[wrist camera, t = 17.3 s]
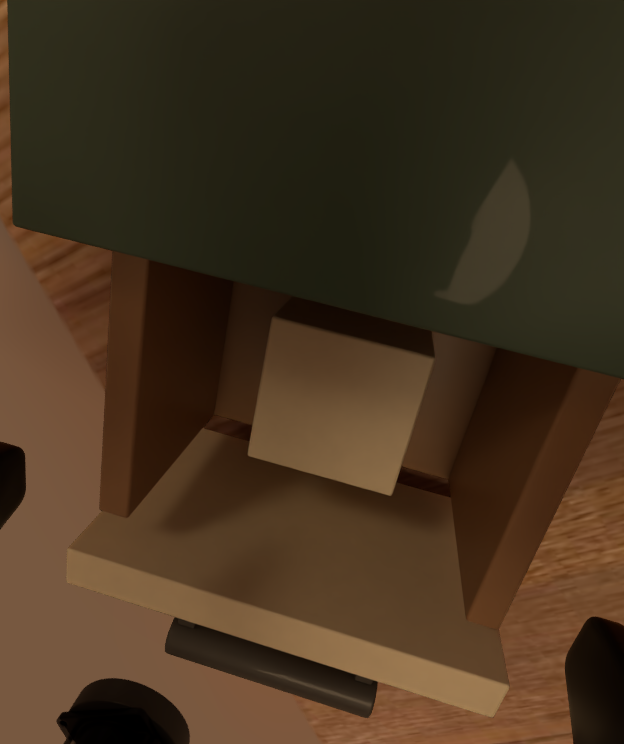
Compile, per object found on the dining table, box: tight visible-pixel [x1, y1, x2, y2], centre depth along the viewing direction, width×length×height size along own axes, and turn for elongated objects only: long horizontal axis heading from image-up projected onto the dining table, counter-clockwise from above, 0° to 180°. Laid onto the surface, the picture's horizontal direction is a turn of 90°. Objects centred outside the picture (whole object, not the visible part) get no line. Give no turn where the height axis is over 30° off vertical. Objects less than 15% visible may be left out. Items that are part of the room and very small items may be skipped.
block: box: [248, 296, 436, 496], centre depth 15 cm, size 4×4×4 cm
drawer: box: [66, 251, 620, 718], centre depth 15 cm, size 18×11×7 cm, turn 168°
